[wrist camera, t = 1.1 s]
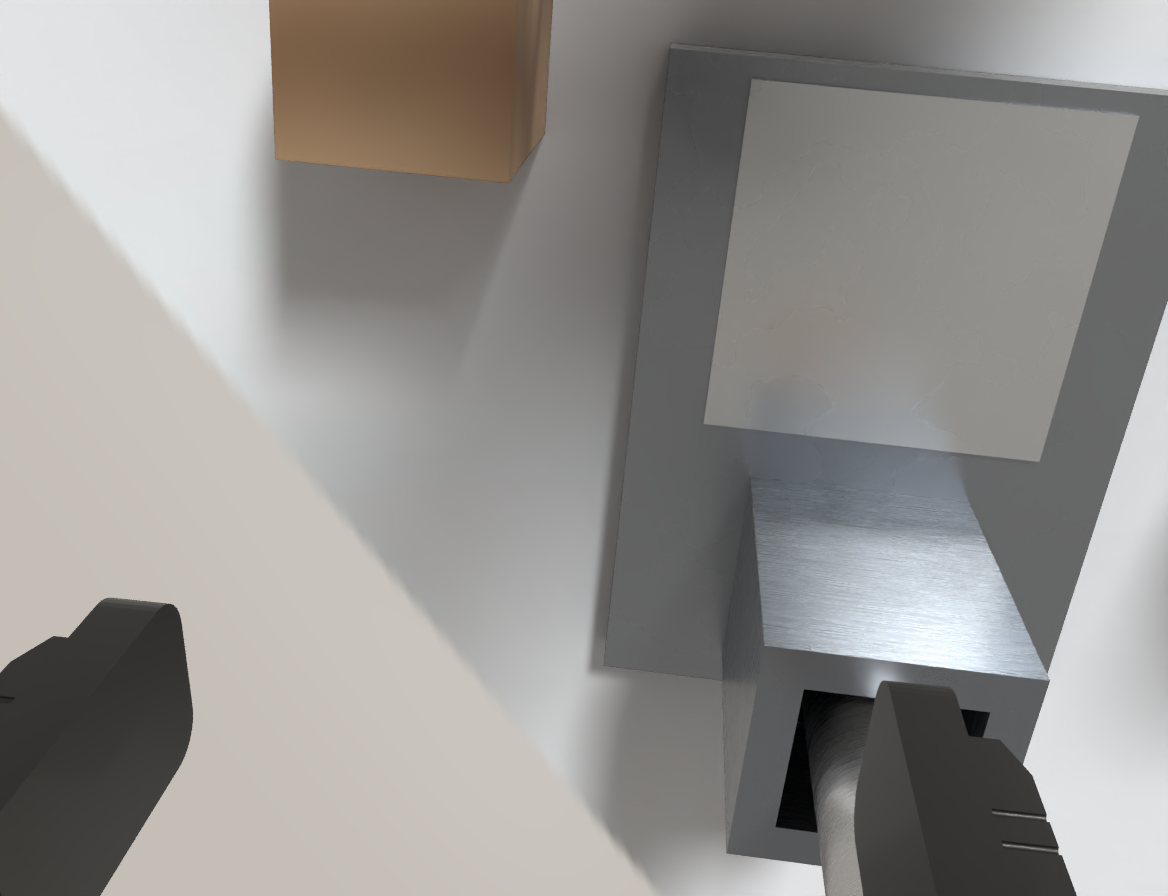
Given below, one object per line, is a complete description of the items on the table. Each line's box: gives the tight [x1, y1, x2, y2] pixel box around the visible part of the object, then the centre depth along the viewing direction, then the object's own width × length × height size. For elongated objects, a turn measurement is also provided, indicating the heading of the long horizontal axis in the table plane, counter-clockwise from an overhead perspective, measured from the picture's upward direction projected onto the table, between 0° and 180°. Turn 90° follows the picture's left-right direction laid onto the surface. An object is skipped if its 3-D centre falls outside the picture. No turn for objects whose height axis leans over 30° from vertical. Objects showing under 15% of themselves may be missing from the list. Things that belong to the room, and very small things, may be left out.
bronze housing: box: [269, 0, 553, 183], centre depth 25 cm, size 5×5×6 cm
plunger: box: [801, 689, 875, 896], centre depth 23 cm, size 4×4×11 cm
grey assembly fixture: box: [604, 43, 1168, 866], centre depth 27 cm, size 18×13×9 cm
